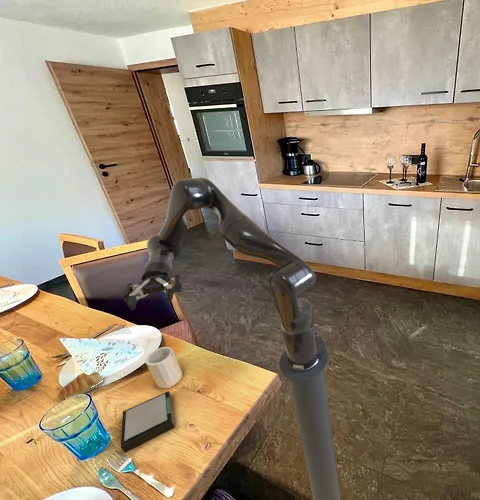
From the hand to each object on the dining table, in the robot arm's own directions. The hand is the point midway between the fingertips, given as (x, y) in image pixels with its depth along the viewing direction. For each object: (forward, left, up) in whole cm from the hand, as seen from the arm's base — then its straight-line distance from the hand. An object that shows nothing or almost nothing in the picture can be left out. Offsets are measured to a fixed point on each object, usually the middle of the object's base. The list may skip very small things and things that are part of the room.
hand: (149, 303), depth 80 cm
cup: (+2, +8, -21) cm, 22 cm away
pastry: (+22, -3, -21) cm, 30 cm away
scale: (+7, +20, -21) cm, 30 cm away
